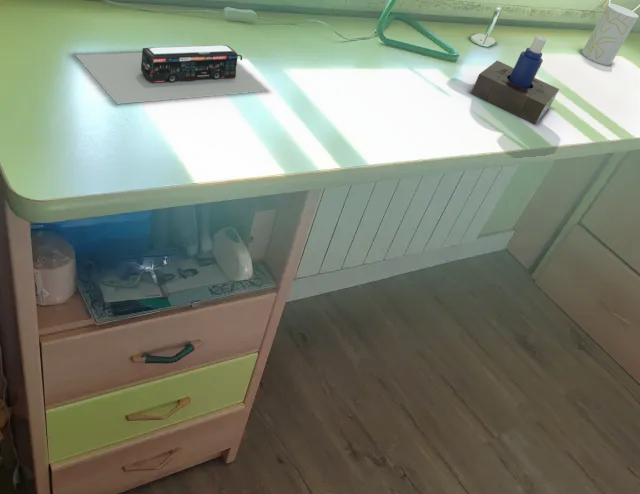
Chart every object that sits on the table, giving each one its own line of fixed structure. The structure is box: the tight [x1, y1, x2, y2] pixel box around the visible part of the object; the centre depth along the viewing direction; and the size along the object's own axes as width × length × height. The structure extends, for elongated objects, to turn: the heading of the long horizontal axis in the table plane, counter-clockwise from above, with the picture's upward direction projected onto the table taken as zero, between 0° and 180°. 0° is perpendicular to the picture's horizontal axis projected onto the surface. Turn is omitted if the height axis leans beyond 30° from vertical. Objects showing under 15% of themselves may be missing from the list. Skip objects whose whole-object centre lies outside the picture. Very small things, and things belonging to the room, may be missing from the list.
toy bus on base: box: [75, 44, 267, 105], centre depth 93 cm, size 14×25×4 cm, turn 127°
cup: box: [581, 3, 640, 66], centre depth 156 cm, size 8×8×12 cm
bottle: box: [508, 35, 547, 88], centre depth 118 cm, size 4×4×12 cm
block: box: [470, 60, 560, 125], centre depth 121 cm, size 14×12×4 cm
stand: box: [470, 6, 502, 48], centre depth 143 cm, size 8×5×8 cm
